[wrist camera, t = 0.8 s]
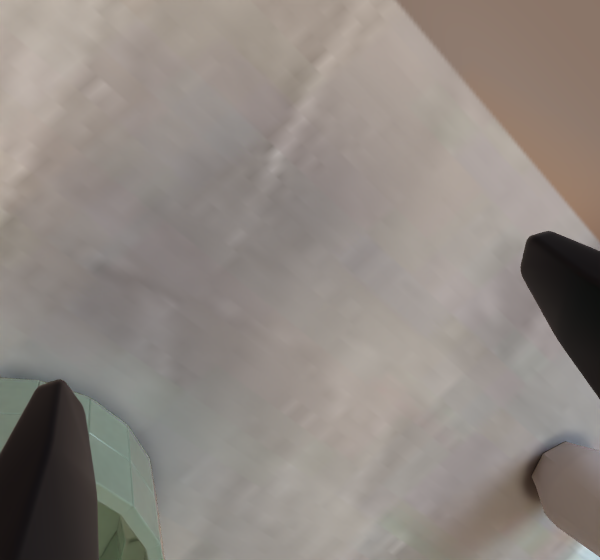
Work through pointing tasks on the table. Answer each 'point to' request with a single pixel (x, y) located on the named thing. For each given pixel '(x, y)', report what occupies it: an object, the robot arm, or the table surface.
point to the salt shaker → (571, 491)
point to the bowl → (105, 475)
